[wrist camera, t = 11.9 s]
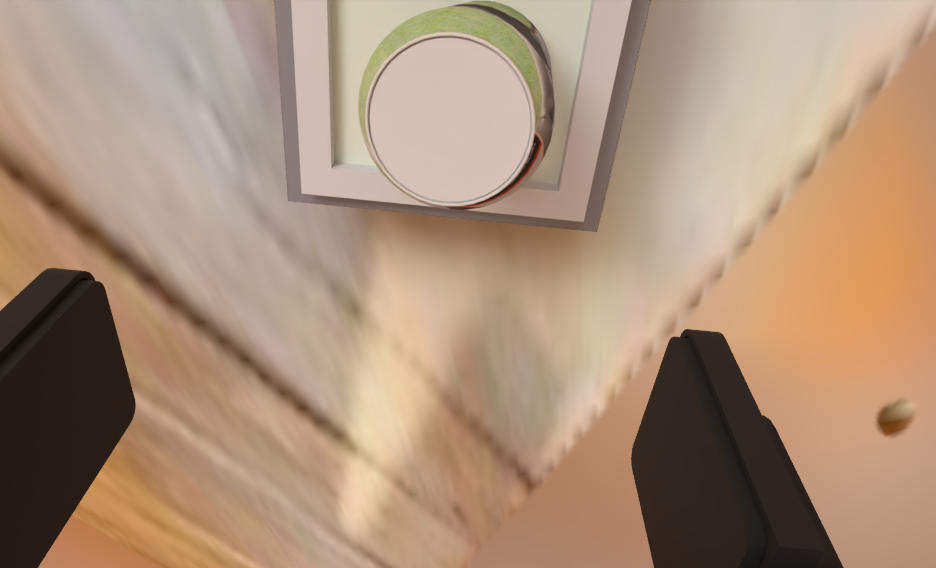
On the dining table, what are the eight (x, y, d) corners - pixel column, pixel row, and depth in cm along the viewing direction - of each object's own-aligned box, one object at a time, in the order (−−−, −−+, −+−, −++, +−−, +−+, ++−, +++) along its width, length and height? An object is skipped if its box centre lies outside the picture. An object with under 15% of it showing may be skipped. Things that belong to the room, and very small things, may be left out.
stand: (312, -174, 31) (253, -184, 23) (642, -137, 31) (688, -135, 24) (322, 143, 40) (282, 209, 32) (580, 169, 40) (599, 241, 32)
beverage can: (466, 157, 31) (452, 297, 21) (367, 27, 28) (294, 117, 18) (579, 81, 29) (623, 196, 19) (485, -70, 26) (476, -28, 16)
